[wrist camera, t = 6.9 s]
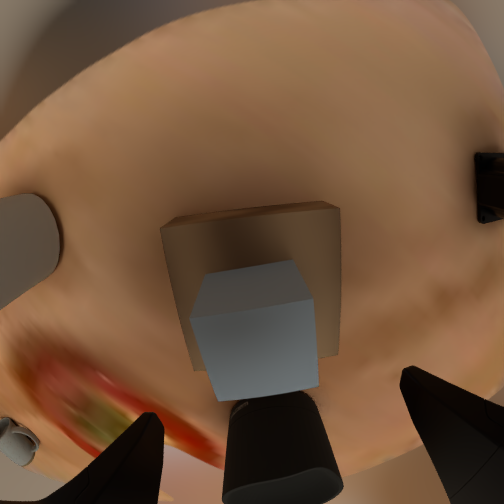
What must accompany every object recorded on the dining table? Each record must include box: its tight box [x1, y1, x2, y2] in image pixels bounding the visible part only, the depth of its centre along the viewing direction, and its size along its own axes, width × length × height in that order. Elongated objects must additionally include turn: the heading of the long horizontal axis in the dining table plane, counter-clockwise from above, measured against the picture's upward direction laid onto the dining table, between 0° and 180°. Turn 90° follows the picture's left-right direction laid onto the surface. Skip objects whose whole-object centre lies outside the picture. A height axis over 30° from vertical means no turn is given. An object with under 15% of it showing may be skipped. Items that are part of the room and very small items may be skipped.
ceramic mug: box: [0, 417, 39, 466], centre depth 24 cm, size 11×8×8 cm
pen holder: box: [222, 391, 344, 504], centre depth 19 cm, size 9×9×10 cm
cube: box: [189, 259, 319, 401], centre depth 14 cm, size 5×5×5 cm
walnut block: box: [160, 201, 341, 371], centre depth 18 cm, size 10×10×4 cm
